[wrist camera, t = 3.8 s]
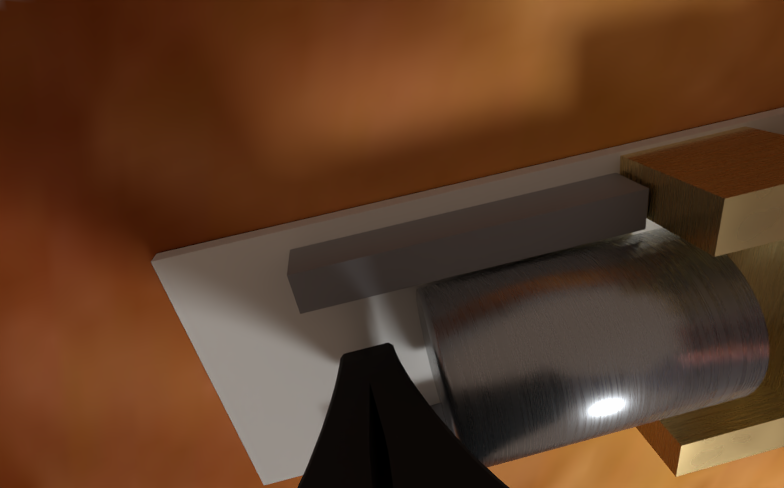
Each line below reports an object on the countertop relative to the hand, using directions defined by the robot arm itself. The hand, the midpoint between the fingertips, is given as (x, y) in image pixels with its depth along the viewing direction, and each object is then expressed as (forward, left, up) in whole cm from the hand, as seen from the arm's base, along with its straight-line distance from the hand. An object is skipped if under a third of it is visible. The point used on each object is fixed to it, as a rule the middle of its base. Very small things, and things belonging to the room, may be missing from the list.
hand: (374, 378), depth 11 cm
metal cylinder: (0, -4, -1) cm, 5 cm away
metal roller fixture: (0, -6, -1) cm, 6 cm away
